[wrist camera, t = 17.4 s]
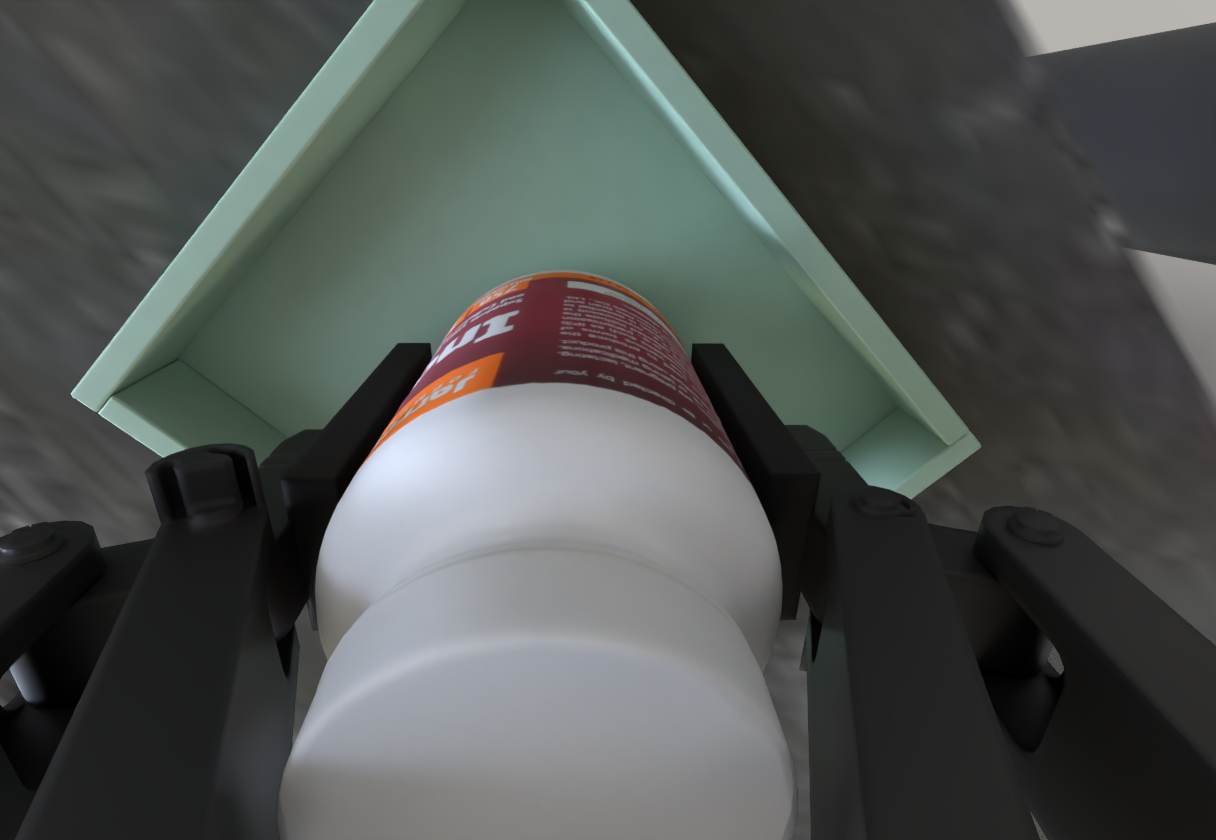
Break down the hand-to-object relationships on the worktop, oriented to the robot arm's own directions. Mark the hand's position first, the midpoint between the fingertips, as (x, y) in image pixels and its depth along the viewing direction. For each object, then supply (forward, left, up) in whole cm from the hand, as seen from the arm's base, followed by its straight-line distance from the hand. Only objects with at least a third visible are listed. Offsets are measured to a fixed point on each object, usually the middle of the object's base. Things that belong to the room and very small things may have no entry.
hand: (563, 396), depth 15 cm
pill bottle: (0, 0, -1) cm, 1 cm away
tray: (0, 0, -2) cm, 2 cm away
